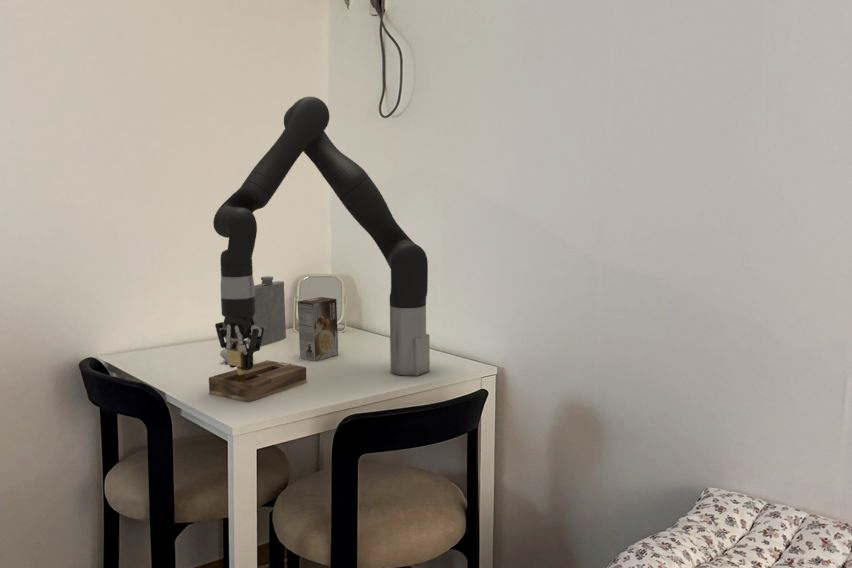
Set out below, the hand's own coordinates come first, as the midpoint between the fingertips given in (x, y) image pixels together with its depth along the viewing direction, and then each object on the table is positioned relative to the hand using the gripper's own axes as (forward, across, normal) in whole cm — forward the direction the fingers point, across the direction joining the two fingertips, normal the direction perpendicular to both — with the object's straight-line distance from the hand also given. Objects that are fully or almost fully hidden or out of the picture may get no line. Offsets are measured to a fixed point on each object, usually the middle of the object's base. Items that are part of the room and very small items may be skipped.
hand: (240, 367), depth 177 cm
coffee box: (+6, +8, -36) cm, 38 cm away
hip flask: (+6, +33, -42) cm, 54 cm away
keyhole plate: (+6, 0, -6) cm, 8 cm away
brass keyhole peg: (+5, 0, 0) cm, 5 cm away
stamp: (+6, +23, -20) cm, 31 cm away
